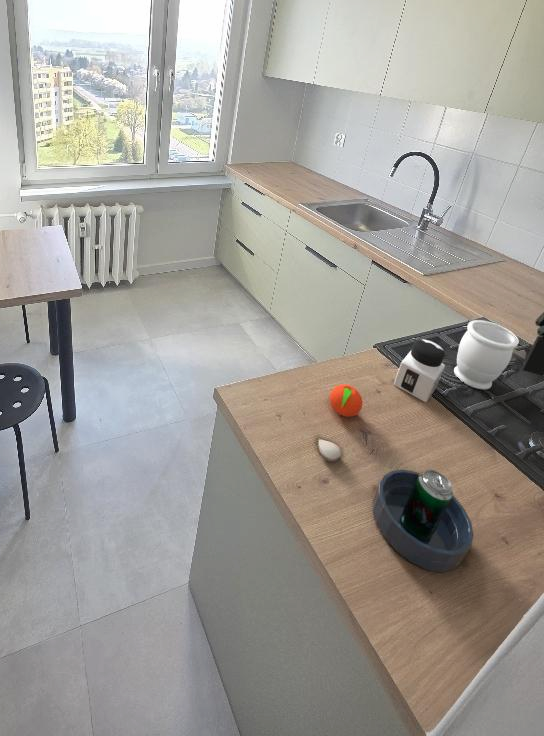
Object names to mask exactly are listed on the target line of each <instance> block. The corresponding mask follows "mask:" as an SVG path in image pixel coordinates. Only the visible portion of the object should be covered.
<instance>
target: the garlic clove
mask: <svg viewBox="0 0 544 736" xmlns="http://www.w3.org/2000/svg"><path fill="white" fill-rule="evenodd" d="M318 450H319V453H320V456H321V457H322V458H323V459H324V460H325V461H327V462H337V461H338V460H339V459H340V458H341V455H342V451H341V448H340V447H339V446H338V445H337V444H336V443H334V442H331V441H329V440H328V441H327V440H324V439H321V438H319V439H318Z"/></svg>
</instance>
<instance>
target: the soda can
mask: <svg viewBox="0 0 544 736" xmlns="http://www.w3.org/2000/svg"><path fill="white" fill-rule="evenodd" d="M419 473H420V474H419V476H418V478H417V481H416V483H415V485H414V487H413V490H412V492H411V494H410V496H409V498H408V501H407V503H406V505H405V507H404V510H403V512H402V515H401V517H402V521H403V524H404V525H405V527H406V528H407V529H408V531H409V532H410V533H412V534H413V535H414V536H416V537H418V538H421V539H429V538H431V537H432V536H433V534H434V532H435V530H436V528H437V526H438V524H439V523H440V521H441V519H442V517H443V515H444V513H445V511H446V509H447V507H448V505H449V503H450V501H451V499H452V497H453V495H454V492H453V485H452V483H451V481H450V480H449V479H448V478H447V477H446V476H445V475H444V474H442V472H439V471H438V470H434V469H425V470H424V471H421V472H419Z"/></svg>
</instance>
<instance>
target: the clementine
mask: <svg viewBox="0 0 544 736" xmlns="http://www.w3.org/2000/svg"><path fill="white" fill-rule="evenodd" d="M329 402H330V405H331V407H332V409H333V410H334V411H335V412H336V413H337V414H339V415H340V416H343V417H347V418H351V417H355V416H356V415H358V414H359V413H360V412H361V411H362V408H363V399H362V395H361V394H360V392H359V390H357V389H356V388H355V387H354V386H352V385H350V384H345V383H344V384H338V385H336V386H334V387H333V388H332V390H331V392H330V394H329Z"/></svg>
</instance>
